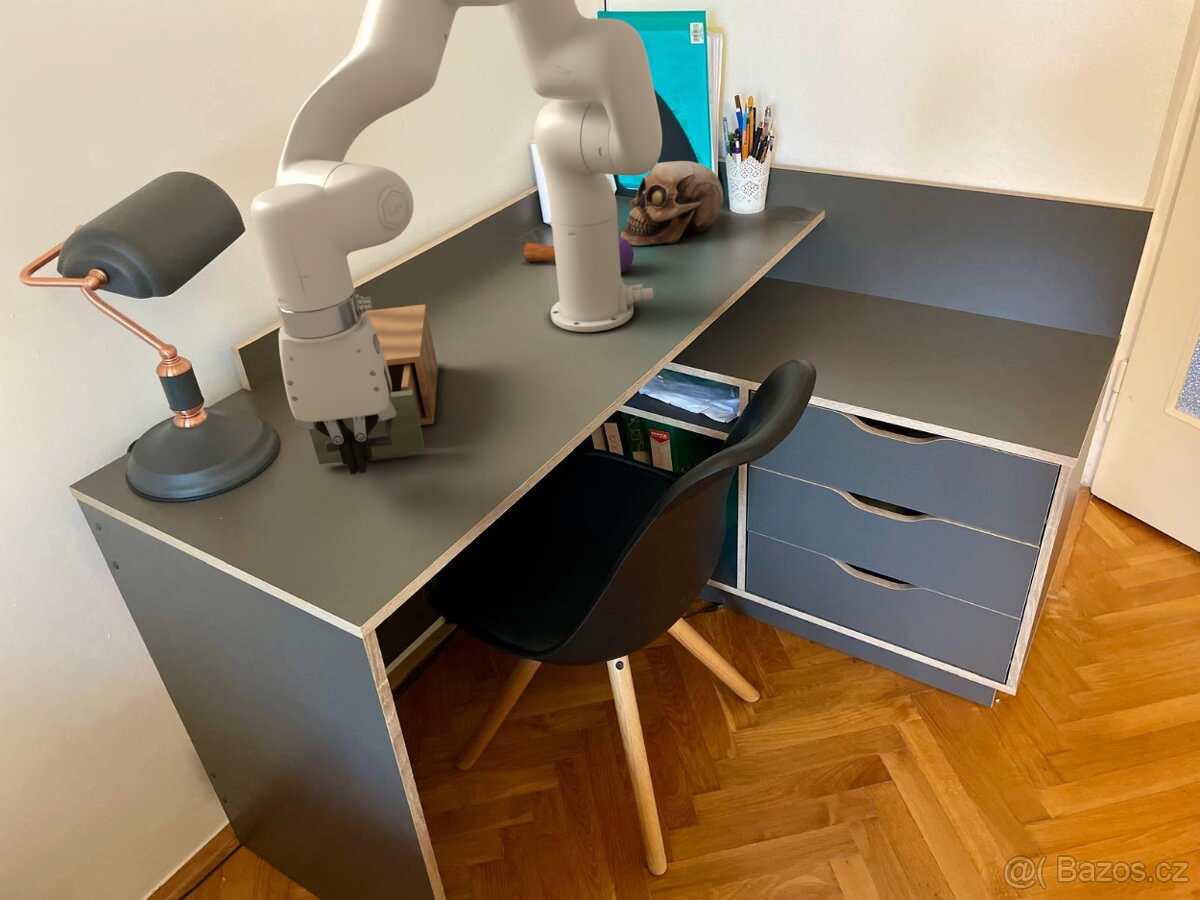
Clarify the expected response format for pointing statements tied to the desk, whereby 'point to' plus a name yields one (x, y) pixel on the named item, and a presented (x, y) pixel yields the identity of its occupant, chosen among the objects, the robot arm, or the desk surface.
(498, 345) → the desk surface
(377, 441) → the drawer
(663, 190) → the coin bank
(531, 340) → the desk surface
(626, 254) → the kendama
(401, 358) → the cabinet
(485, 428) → the desk surface
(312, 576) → the desk surface
